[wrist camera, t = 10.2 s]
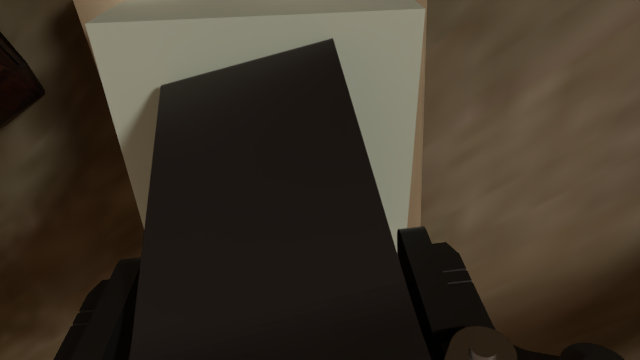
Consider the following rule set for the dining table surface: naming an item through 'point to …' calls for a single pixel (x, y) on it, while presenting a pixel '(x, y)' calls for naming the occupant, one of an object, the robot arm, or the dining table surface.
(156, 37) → the tower top
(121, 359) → the robot arm
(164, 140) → the phone stand
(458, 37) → the dining table surface
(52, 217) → the dining table surface
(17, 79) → the manual coffee grinder
